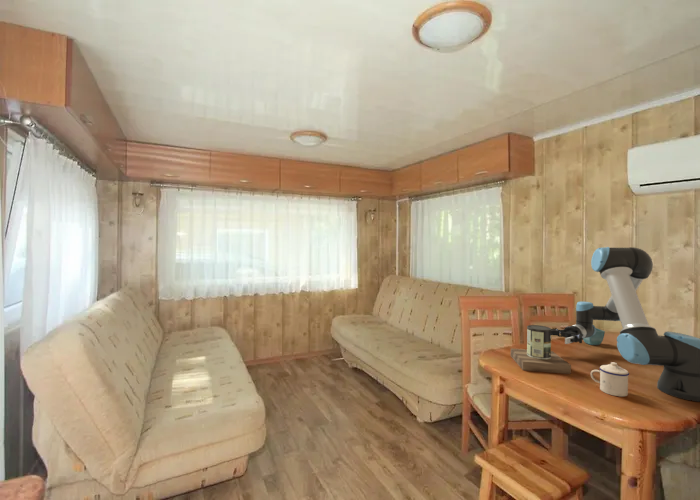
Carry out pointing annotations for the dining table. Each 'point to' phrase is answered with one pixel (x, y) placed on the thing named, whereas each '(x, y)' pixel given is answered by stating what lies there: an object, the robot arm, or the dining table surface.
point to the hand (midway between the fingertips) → (551, 337)
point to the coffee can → (539, 342)
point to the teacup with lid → (613, 379)
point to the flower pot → (595, 338)
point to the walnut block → (540, 362)
